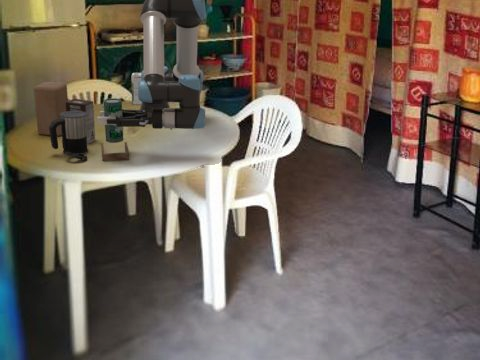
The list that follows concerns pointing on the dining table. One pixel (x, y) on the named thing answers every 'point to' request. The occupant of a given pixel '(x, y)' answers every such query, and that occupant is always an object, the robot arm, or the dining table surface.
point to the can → (112, 110)
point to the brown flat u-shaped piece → (115, 154)
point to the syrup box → (135, 88)
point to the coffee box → (89, 110)
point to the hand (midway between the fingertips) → (99, 117)
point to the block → (49, 105)
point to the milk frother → (71, 133)
